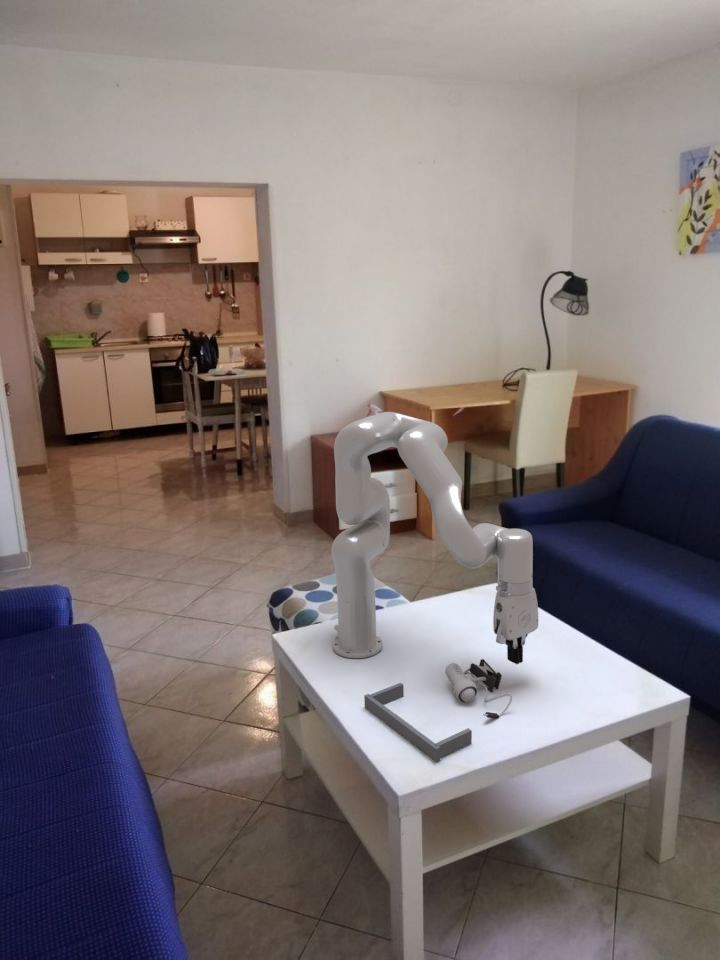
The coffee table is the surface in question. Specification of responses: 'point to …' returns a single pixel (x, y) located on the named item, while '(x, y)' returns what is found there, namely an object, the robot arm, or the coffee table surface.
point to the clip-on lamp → (466, 686)
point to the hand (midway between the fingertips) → (515, 661)
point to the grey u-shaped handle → (407, 731)
